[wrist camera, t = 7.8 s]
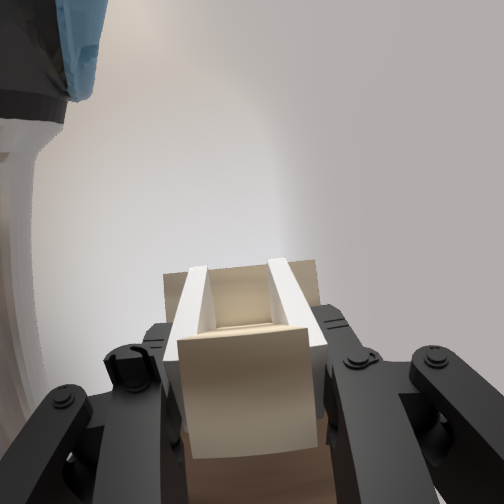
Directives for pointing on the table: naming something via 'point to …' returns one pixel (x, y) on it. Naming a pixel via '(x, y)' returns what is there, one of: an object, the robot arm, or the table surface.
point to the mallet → (247, 367)
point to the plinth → (263, 476)
